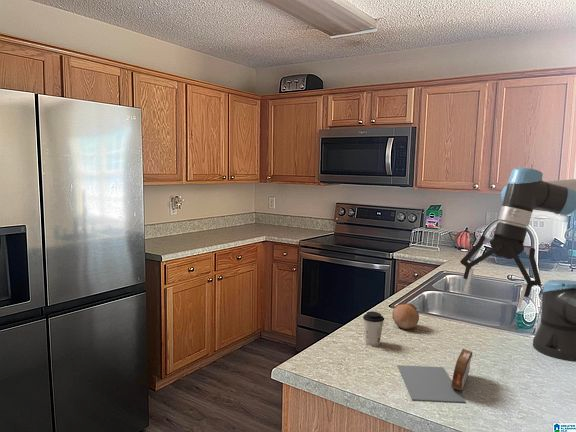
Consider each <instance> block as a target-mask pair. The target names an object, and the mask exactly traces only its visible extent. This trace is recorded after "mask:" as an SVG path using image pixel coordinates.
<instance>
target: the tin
mask: <svg viewBox="0 0 576 432" xmlns="http://www.w3.org/2000/svg"><path fill="white" fill-rule="evenodd" d="M473 354H474V353H473V351H471V350H468V349H466V348H462V350H461V351H460V353H459V355H458V357H457V360H456V362H455V366H454V369H453V374H452V378H451V381H452V384H451V388H455V389H457V390H458V391H463V389H464V387H465V385H466V382H467V379H468V376H469V374H470V373H469V372H470V367H471V360H472V358H473Z"/></svg>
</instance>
